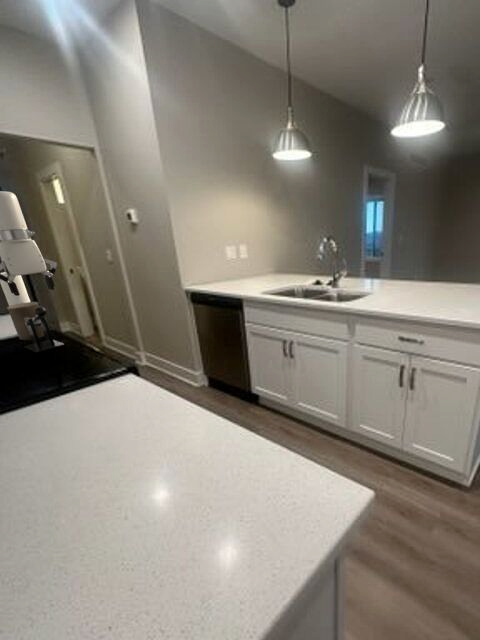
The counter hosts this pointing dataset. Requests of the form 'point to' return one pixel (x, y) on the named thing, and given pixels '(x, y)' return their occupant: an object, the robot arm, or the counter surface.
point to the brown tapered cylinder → (19, 314)
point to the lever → (38, 315)
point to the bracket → (37, 344)
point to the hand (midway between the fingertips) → (34, 292)
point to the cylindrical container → (11, 297)
